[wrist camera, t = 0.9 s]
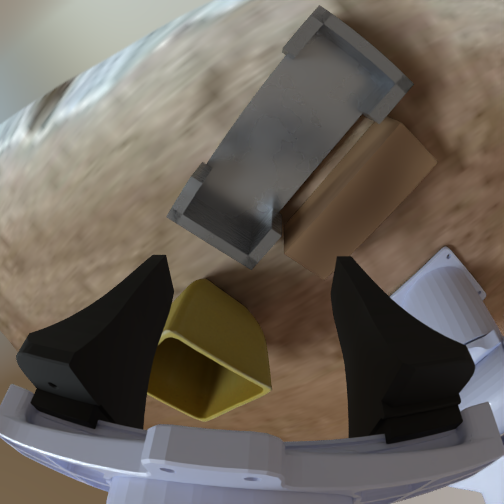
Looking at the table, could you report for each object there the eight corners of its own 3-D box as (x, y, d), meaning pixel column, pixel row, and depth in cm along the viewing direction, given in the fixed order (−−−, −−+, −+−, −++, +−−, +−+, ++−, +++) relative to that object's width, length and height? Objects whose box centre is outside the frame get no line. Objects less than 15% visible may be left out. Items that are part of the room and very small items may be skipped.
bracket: (393, 79, 16) (415, 81, 13) (254, 242, 24) (249, 271, 21) (314, 15, 15) (321, 2, 12) (181, 196, 22) (164, 219, 19)
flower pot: (199, 248, 25) (167, 330, 17) (278, 306, 28) (274, 392, 20) (149, 303, 29) (115, 376, 21) (219, 348, 32) (203, 423, 24)
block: (413, 145, 19) (438, 162, 16) (318, 249, 24) (324, 280, 21) (380, 112, 18) (401, 122, 15) (283, 224, 23) (284, 253, 20)
